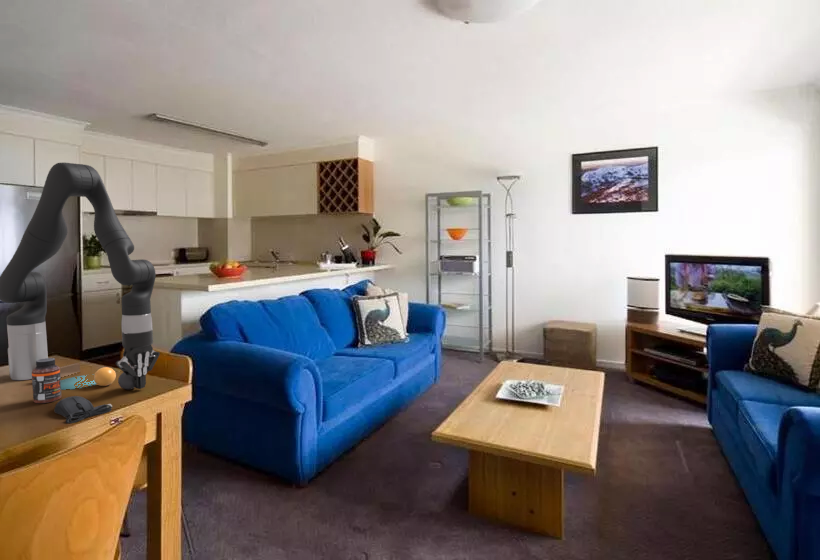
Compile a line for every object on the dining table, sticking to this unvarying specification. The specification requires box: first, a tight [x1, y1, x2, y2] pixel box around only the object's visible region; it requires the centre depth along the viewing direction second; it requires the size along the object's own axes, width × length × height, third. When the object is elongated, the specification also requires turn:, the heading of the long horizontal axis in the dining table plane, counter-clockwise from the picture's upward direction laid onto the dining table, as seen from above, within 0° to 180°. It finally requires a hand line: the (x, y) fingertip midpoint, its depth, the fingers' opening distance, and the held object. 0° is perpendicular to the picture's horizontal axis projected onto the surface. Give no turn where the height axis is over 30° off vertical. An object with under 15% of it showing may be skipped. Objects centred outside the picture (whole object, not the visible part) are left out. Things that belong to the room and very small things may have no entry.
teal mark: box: [61, 374, 97, 391], centre depth 136 cm, size 14×14×1 cm
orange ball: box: [93, 366, 117, 387], centre depth 133 cm, size 6×6×6 cm
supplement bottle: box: [31, 357, 62, 404], centre depth 120 cm, size 6×6×11 cm
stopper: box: [59, 362, 81, 379], centre depth 140 cm, size 2×12×3 cm, turn 162°
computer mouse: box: [53, 395, 113, 424], centre depth 113 cm, size 10×15×4 cm
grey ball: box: [117, 371, 136, 391], centre depth 130 cm, size 6×6×6 cm
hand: (139, 387), depth 129 cm, fingers closed
